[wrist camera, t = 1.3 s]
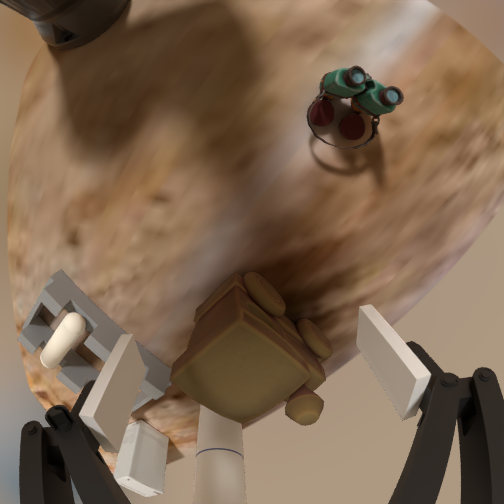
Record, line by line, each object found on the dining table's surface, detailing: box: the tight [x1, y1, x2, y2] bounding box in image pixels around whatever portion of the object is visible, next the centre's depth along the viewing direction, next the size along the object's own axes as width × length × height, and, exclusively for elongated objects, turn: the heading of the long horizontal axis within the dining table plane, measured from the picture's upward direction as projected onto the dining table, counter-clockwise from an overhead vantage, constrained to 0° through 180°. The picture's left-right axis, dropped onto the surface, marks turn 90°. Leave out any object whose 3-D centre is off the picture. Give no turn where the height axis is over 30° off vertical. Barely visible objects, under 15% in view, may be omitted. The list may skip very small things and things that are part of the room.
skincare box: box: [114, 419, 169, 497], centre depth 41 cm, size 8×6×15 cm
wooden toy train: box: [169, 272, 332, 426], centre depth 34 cm, size 20×11×17 cm, turn 45°
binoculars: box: [307, 66, 404, 149], centre depth 29 cm, size 9×11×10 cm
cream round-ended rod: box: [40, 312, 86, 369], centre depth 35 cm, size 4×14×4 cm, turn 133°
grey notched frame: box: [17, 270, 172, 412], centre depth 38 cm, size 25×15×6 cm, turn 43°
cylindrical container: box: [193, 404, 247, 504], centre depth 34 cm, size 7×7×25 cm
